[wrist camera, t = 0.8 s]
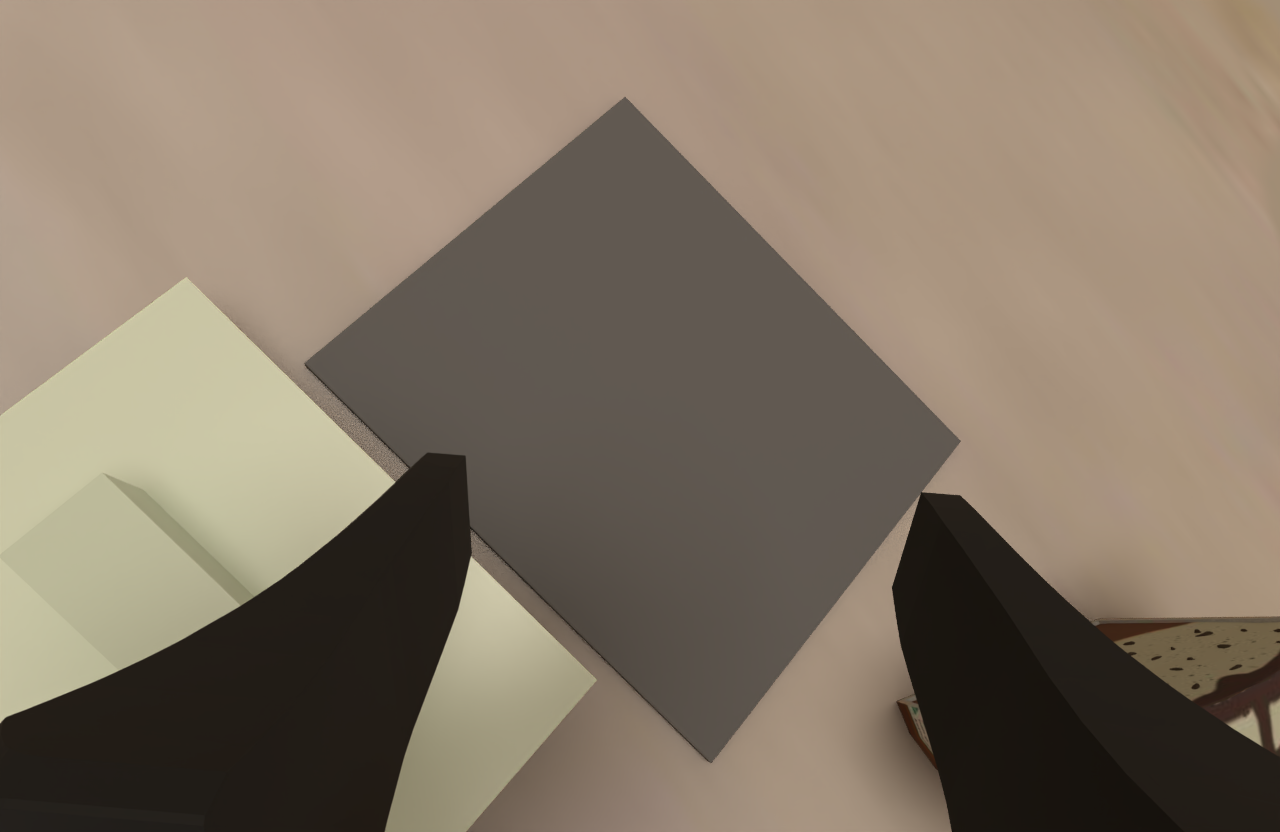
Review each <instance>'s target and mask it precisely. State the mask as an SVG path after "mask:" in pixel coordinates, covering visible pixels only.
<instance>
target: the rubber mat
mask: <svg viewBox="0 0 1280 832" xmlns="http://www.w3.org/2000/svg"><path fill="white" fill-rule="evenodd" d="M305 366H306V367H307V368H308V369H309V370H310V371H311V372H312V373H313V374H314V375H315V376H316V377H317V378H318V379H319V380H320V381H322V382H323V383H324V384H325V385H326V386H327V387H328V388H329V389H330V390H331V391H332V392H333V393H334V394H335V395H336V396H337V397H338V398H339V399H340V400H341V401H342V402H343V403H344V404H345V405H346V406H347V407H348V408H349V409H350V410H351V411H352V412H353V413H354V414H355V415H356V416H357V417H358V418H359V419H360V420H361V421H362V422H363V423H364V424H365V425H366V426H367V427H368V428H369V429H370V430H371V431H372V432H373V433H374V434H375V435H376V436H377V437H379V438H380V439H381V440H382V441H383V442H384V443H385V444H386V445H387V446H388V447H389V448H390V449H391V450H392V451H393V452H394V453H395V454H396V455H397V456H398V457H399V458H400V459H401V460H402V461H403V462H404V463H405V464H406V465H407V466H408V467H409V468H411V467H412V466H413V465H414V464H415V463H416V462H417V461H418V460H419V459H420V458H421V457H423V456H424V455H425V454H426V453H428V452H429V453H441V454H453V455H466V469H467V485H468V502H469V518H470V528H471V529H472V530H473V531H474V532H475V533H476V534H477V535H478V536H479V537H480V538H481V539H482V540H483V541H484V542H485V543H486V544H487V545H488V546H489V547H490V548H492V549H493V550H494V551H495V552H496V553H497V554H498V555H499V556H500V557H501V558H502V559H503V560H504V561H505V562H506V563H507V564H508V565H509V566H510V567H511V568H512V569H513V570H514V571H515V572H516V573H517V574H518V575H519V576H520V577H521V578H522V579H523V580H524V581H525V582H526V583H527V584H528V585H529V586H530V587H531V588H532V589H533V590H534V591H535V592H536V593H537V594H538V595H539V596H540V597H541V598H542V599H543V600H544V601H545V602H546V603H548V604H549V605H550V606H551V607H552V608H553V609H554V610H555V611H556V612H557V613H558V614H559V615H560V616H561V617H562V618H563V619H564V620H565V621H566V622H567V623H568V624H569V625H570V626H571V627H572V628H573V629H574V630H575V631H576V632H577V633H578V634H579V635H580V636H581V637H582V638H583V639H584V640H585V641H586V642H587V643H588V644H589V645H590V646H591V647H592V648H593V649H594V650H595V651H596V652H597V653H598V654H599V655H600V656H601V657H602V658H604V659H605V660H606V661H607V662H608V663H609V664H610V665H611V666H612V667H613V668H614V669H615V670H616V671H617V672H618V673H619V674H620V675H621V676H622V677H623V678H624V679H625V680H626V681H627V682H628V683H629V684H630V685H631V686H632V687H633V688H634V689H635V690H636V691H637V692H638V693H639V694H640V695H641V696H642V697H643V698H644V699H645V700H646V701H647V702H648V703H649V704H650V705H651V706H652V707H653V708H654V709H655V710H656V711H657V712H658V713H659V714H661V715H662V716H663V717H664V718H665V719H666V720H667V721H668V722H669V723H670V724H671V725H672V726H673V727H674V728H675V729H676V730H677V731H678V732H679V733H680V734H681V735H682V736H683V737H684V738H685V739H686V740H687V741H688V742H689V743H690V744H691V745H692V746H693V747H694V748H695V749H696V750H697V751H698V752H699V753H700V754H701V755H702V756H703V757H704V758H705V759H706V760H707V761H708V762H710V763H712V762H713V760H714V759H715V758H716V757H717V755H718V754H719V753H720V751H721V750H722V749H723V748H724V746H725V745H726V744H727V742H728V741H729V740H730V739H731V737H732V736H733V735H734V733H735V732H736V731H737V729H738V728H739V727H740V726H741V724H742V723H743V722H744V720H745V719H746V718H747V717H748V715H749V714H750V713H751V711H752V710H753V709H754V708H755V706H756V705H757V704H758V702H759V701H760V700H761V698H762V697H763V696H764V695H765V693H766V692H767V691H768V689H769V688H770V687H771V686H772V684H773V683H774V682H775V680H776V679H777V678H778V677H779V675H780V674H781V673H782V671H783V670H784V669H785V668H786V666H787V665H788V664H789V662H790V661H791V660H792V658H793V657H794V656H795V655H796V653H797V652H798V651H799V649H800V648H801V647H802V646H803V644H804V643H805V642H806V640H807V639H808V638H809V637H810V635H811V634H812V633H813V631H814V630H815V629H816V627H817V626H818V625H819V624H820V622H821V621H822V620H823V618H824V617H825V616H826V615H827V613H828V612H829V611H830V609H831V608H832V607H833V606H834V604H835V603H836V602H837V600H838V599H839V598H840V597H841V595H842V594H843V593H844V591H845V590H846V589H847V587H848V586H849V585H850V584H851V582H852V581H853V580H854V578H855V577H856V576H857V575H858V573H859V572H860V571H861V569H862V568H863V567H864V566H865V564H866V563H867V562H868V560H869V559H870V558H871V556H872V555H873V554H874V553H875V551H876V550H877V549H878V547H879V546H880V545H881V544H882V542H883V541H884V540H885V538H886V537H887V536H888V535H889V533H890V532H891V531H892V529H893V528H894V527H895V526H896V524H897V523H898V522H899V520H900V519H901V518H902V516H903V515H904V514H905V513H906V511H907V510H908V509H909V507H910V506H911V505H912V504H913V502H914V501H915V500H916V498H917V497H918V496H919V495H920V493H921V492H922V491H923V489H924V488H925V487H926V485H927V484H928V483H929V482H930V480H931V479H932V478H933V476H934V475H935V474H936V473H937V471H938V470H939V469H940V467H941V466H942V465H943V464H944V462H945V461H946V460H947V458H948V457H949V456H950V454H951V453H952V452H953V451H954V449H955V448H956V447H957V445H958V444H959V443H960V442H961V441H960V440H959V439H958V438H957V437H956V436H955V435H954V434H953V433H952V432H951V431H950V430H949V429H948V428H947V427H946V425H945V424H944V423H943V422H942V421H941V420H940V419H939V418H938V417H937V416H936V415H935V414H934V413H933V412H932V411H931V410H930V409H929V408H928V407H927V406H926V405H925V404H924V403H923V402H922V401H921V400H920V399H919V398H918V397H917V396H916V395H915V394H914V393H913V392H912V391H911V390H910V389H909V388H908V386H907V385H906V384H905V383H904V382H903V381H902V380H901V379H900V378H899V377H898V376H897V375H896V374H895V373H894V372H893V371H892V370H891V369H890V368H889V367H888V366H887V365H886V364H885V363H884V362H883V361H882V360H881V359H880V358H879V357H878V356H877V355H876V354H875V353H874V352H873V351H872V350H871V349H870V348H869V346H868V345H867V344H866V343H865V342H864V341H863V340H862V339H861V338H860V337H859V336H858V335H857V334H856V333H855V332H854V331H853V330H852V329H851V328H850V327H849V326H848V325H847V324H846V323H845V322H844V321H843V320H842V319H841V318H840V317H839V316H838V315H837V314H836V313H835V312H834V311H833V310H832V309H831V308H830V306H829V305H828V304H827V303H826V302H825V301H824V300H823V299H822V298H821V297H820V296H819V295H818V294H817V293H816V292H815V291H814V290H813V289H812V288H811V287H810V286H809V285H808V284H807V283H806V282H805V281H804V280H803V279H802V278H801V277H800V276H799V275H798V274H797V273H796V272H795V271H794V270H793V269H792V268H791V266H790V265H789V264H788V263H787V262H786V261H785V260H784V259H783V258H782V257H781V256H780V255H779V254H778V253H777V252H776V251H775V250H774V249H773V248H772V247H771V246H770V245H769V244H768V243H767V242H766V241H765V240H764V239H763V238H762V237H761V236H760V235H759V234H758V233H757V232H756V231H755V230H754V229H753V228H752V226H751V225H750V224H749V223H748V222H747V221H746V220H745V219H744V218H743V217H742V216H741V215H740V214H739V213H738V212H737V211H736V210H735V209H734V208H733V207H732V206H731V205H730V204H729V203H728V202H727V201H726V200H725V199H724V198H723V197H722V196H721V195H720V194H719V193H718V192H717V191H716V190H715V189H714V188H713V186H712V185H711V184H710V183H709V182H708V181H707V180H706V179H705V178H704V177H703V176H702V175H701V174H700V173H699V172H698V171H697V170H696V169H695V168H694V167H693V166H692V165H691V164H690V163H689V162H688V161H687V160H686V159H685V158H684V157H683V156H682V155H681V154H680V153H679V152H678V151H677V150H676V149H675V148H674V146H673V145H672V144H671V143H670V142H669V141H668V140H667V139H666V138H665V137H664V136H663V135H662V134H661V133H660V132H659V131H658V130H657V129H656V128H655V127H654V126H653V125H652V124H651V123H650V122H649V121H648V120H647V119H646V118H645V117H644V116H643V115H642V114H641V113H640V112H639V111H638V110H637V109H636V107H635V106H634V105H633V104H632V103H631V102H630V101H629V100H628V99H627V98H626V97H624V98H623V99H622V100H621V101H620V102H618V103H617V104H616V105H615V106H614V107H612V108H611V109H610V110H609V111H608V112H606V113H605V114H604V115H603V116H602V117H600V118H599V119H598V120H597V121H596V122H594V123H593V124H592V125H591V126H590V127H588V128H587V129H586V130H585V131H584V132H582V133H581V134H580V135H579V136H578V137H576V138H575V139H574V140H573V141H571V142H570V143H569V144H568V145H567V146H565V147H564V148H563V149H562V150H561V151H559V152H558V153H557V154H556V155H555V156H553V157H552V158H551V159H550V160H549V161H547V162H546V163H545V164H544V165H543V166H541V167H540V168H539V169H538V170H537V171H535V172H534V173H533V174H532V175H531V176H529V177H528V178H527V179H526V180H525V181H523V182H522V183H521V184H520V185H519V186H517V187H516V188H515V189H514V190H513V191H511V192H510V193H509V194H508V195H507V196H505V197H504V198H503V199H502V200H500V201H499V202H498V203H497V204H496V205H494V206H493V207H492V208H491V209H490V210H488V211H487V212H486V213H485V214H484V215H482V216H481V217H480V218H479V219H478V220H476V221H475V222H474V223H473V224H472V225H470V226H469V227H468V228H467V229H466V230H464V231H463V232H462V233H461V234H460V235H458V236H457V237H456V238H455V239H454V240H452V241H451V242H450V243H449V244H448V245H446V246H445V247H444V248H443V249H442V250H440V251H439V252H438V253H437V254H435V255H434V256H433V257H432V258H431V259H429V260H428V261H427V262H426V263H425V264H423V265H422V266H421V267H420V268H419V269H417V270H416V271H415V272H414V273H413V274H411V275H410V276H409V277H408V278H407V279H405V280H404V281H403V282H402V283H401V284H399V285H398V286H397V287H396V288H395V289H393V290H392V291H391V292H390V293H389V294H387V295H386V296H385V297H384V298H383V299H381V300H380V301H379V302H378V303H377V304H375V305H374V306H373V307H372V308H370V309H369V310H368V311H367V312H366V313H364V314H363V315H362V316H361V317H360V318H358V319H357V320H356V321H355V322H354V323H352V324H351V325H350V326H349V327H348V328H346V329H345V330H344V331H343V332H342V333H340V334H339V335H338V336H337V337H336V338H334V339H333V340H332V341H331V342H330V343H328V344H327V345H326V346H325V347H324V348H322V349H321V350H320V351H319V352H318V353H316V354H315V355H314V356H313V357H312V358H310V359H309V360H308V361H307V362H305Z"/></svg>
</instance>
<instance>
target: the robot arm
mask: <svg viewBox="0 0 1280 832" xmlns="http://www.w3.org/2000/svg"><path fill="white" fill-rule="evenodd" d="M471 554H472V551H471V535H470V518H469V502H468V485H467V469H466V455H453V454H441V453H429V452H428V453H426V454H425V455H424V456H423V457H421V458H420V459H419V460H418V461H417V462H416V463H415V464H414V465H413V466H412V467H411V468H410V469H409V470H408V471H407V472H405V473H404V474H403V475H402V476H401V477H400V478H399V479H398V480H397V481H396V482H395V483H394V484H393V485H392V486H391V487H390V488H389V489H388V490H387V491H386V492H385V493H383V494H382V495H381V496H380V497H379V498H378V499H377V500H376V501H375V502H374V503H373V504H372V505H371V506H369V507H368V508H367V509H366V510H365V511H364V512H363V513H362V514H360V515H359V516H358V517H357V518H356V519H355V520H354V521H353V522H351V523H350V524H349V525H348V526H347V527H346V528H345V529H344V530H342V531H341V532H340V533H339V534H338V535H337V536H335V537H334V538H333V539H332V540H330V541H329V542H328V543H327V544H325V545H324V546H323V547H322V548H320V549H319V550H318V551H317V552H315V553H314V554H313V555H312V556H310V557H309V558H308V559H307V560H305V561H304V562H303V563H302V564H300V565H299V566H298V567H297V568H295V569H294V570H292V571H291V572H290V573H288V574H287V575H286V576H284V577H283V578H282V579H280V580H279V581H277V582H276V583H274V584H273V585H271V586H270V587H268V588H267V589H265V590H264V591H262V592H261V593H259V594H258V595H256V596H255V597H253V598H252V599H250V600H249V601H247V602H246V603H244V604H242V605H241V606H239V607H238V608H236V609H234V610H233V611H231V612H229V613H227V614H226V615H224V616H222V617H220V618H219V619H217V620H215V621H213V622H212V623H210V624H208V625H206V626H205V627H203V628H201V629H199V630H198V631H196V632H194V633H192V634H191V635H189V636H187V637H185V638H184V639H182V640H180V641H178V642H176V643H174V644H172V645H170V646H169V647H167V648H165V649H163V650H161V651H159V652H157V653H155V654H153V655H151V656H149V657H147V658H145V659H143V660H140V661H138V662H136V663H134V664H132V665H130V666H128V667H126V668H123V669H121V670H119V671H117V672H115V673H113V674H111V675H108V676H106V677H104V678H102V679H99V680H97V681H95V682H93V683H90V684H88V685H85V686H83V687H80V688H78V689H75V690H73V691H71V692H68V693H66V694H63V695H61V696H58V697H56V698H53V699H51V700H48V701H46V702H43V703H41V704H38V705H36V706H33V707H31V708H28V709H26V710H23V711H21V712H18V713H15V714H13V715H10V716H7V717H5V718H4V720H3V721H2V722H1V723H0V832H385V828H386V824H387V820H388V816H389V813H390V809H391V805H392V801H393V798H394V794H395V790H396V786H397V782H398V779H399V775H400V771H401V767H402V764H403V760H404V756H405V753H406V750H407V747H408V744H409V741H410V738H411V735H412V732H413V729H414V726H415V724H416V721H417V718H418V716H419V713H420V711H421V708H422V705H423V703H424V700H425V697H426V695H427V692H428V689H429V687H430V684H431V681H432V679H433V676H434V674H435V671H436V668H437V666H438V663H439V660H440V658H441V655H442V652H443V650H444V647H445V644H446V642H447V639H448V636H449V634H450V631H451V628H452V626H453V623H454V620H455V617H456V615H457V612H458V609H459V605H460V601H461V597H462V593H463V589H464V585H465V580H466V576H467V571H468V567H469V563H470V558H471ZM892 591H893V598H894V605H895V612H896V619H897V625H898V631H899V637H900V643H901V648H902V651H903V655H904V658H905V662H906V665H907V669H908V672H909V675H910V679H911V682H912V686H913V689H914V693H915V696H916V699H917V702H918V706H919V709H920V712H921V716H922V719H923V722H924V726H925V729H926V732H927V735H928V739H929V742H930V745H931V749H932V752H933V755H934V759H935V762H936V765H937V769H938V772H939V775H940V779H941V783H942V787H943V791H944V795H945V799H946V803H947V808H948V813H949V819H950V824H951V829H952V832H1280V757H1279V756H1277V755H1275V754H1274V753H1272V752H1270V751H1269V750H1267V749H1265V748H1264V747H1262V746H1261V745H1259V744H1257V743H1256V742H1254V741H1252V740H1251V739H1249V738H1248V737H1246V736H1244V735H1243V734H1241V733H1239V732H1238V731H1236V730H1235V729H1233V728H1232V727H1230V726H1229V725H1227V724H1226V723H1224V722H1223V721H1221V720H1220V719H1218V718H1217V717H1215V716H1214V715H1212V714H1211V713H1209V712H1208V711H1206V710H1205V709H1203V708H1202V707H1200V706H1199V705H1197V704H1196V703H1194V702H1193V701H1191V700H1190V699H1188V698H1187V697H1185V696H1184V695H1183V694H1181V693H1180V692H1178V691H1177V690H1176V689H1174V688H1173V687H1171V686H1170V685H1169V684H1167V683H1166V682H1164V681H1163V680H1162V679H1161V678H1159V677H1158V676H1157V675H1155V674H1154V673H1153V672H1151V671H1150V670H1149V669H1148V668H1146V667H1145V666H1144V665H1142V664H1141V663H1140V662H1138V661H1137V660H1136V659H1134V658H1133V657H1132V656H1131V655H1129V654H1128V653H1127V652H1125V651H1124V650H1123V649H1122V648H1120V647H1119V646H1118V645H1117V644H1116V643H1114V642H1113V641H1112V640H1111V639H1109V638H1108V637H1107V636H1106V635H1105V634H1104V633H1102V632H1101V631H1100V630H1099V629H1098V628H1097V627H1096V626H1094V625H1093V624H1092V623H1091V622H1090V621H1089V620H1088V619H1086V618H1085V617H1084V616H1083V615H1082V614H1081V613H1080V612H1078V611H1077V610H1076V609H1075V608H1074V607H1073V606H1072V605H1071V604H1070V603H1068V602H1067V601H1066V600H1065V599H1064V598H1063V597H1062V596H1061V595H1060V594H1059V593H1058V592H1057V591H1056V590H1055V589H1053V588H1052V587H1051V586H1050V585H1049V584H1048V583H1047V582H1046V581H1045V580H1044V579H1043V578H1042V577H1041V576H1040V575H1039V574H1038V573H1037V572H1036V571H1035V570H1034V569H1033V568H1032V567H1031V566H1030V565H1029V564H1028V563H1027V562H1026V561H1025V560H1024V559H1023V558H1022V557H1021V556H1020V555H1019V554H1018V553H1017V552H1016V551H1015V550H1014V549H1013V548H1012V547H1011V546H1010V545H1009V544H1008V543H1007V542H1006V541H1005V540H1004V539H1003V538H1002V537H1001V536H1000V535H999V534H998V533H997V532H996V531H995V530H994V529H993V528H992V527H991V526H990V525H989V523H988V522H987V521H986V520H985V519H984V518H983V517H982V516H981V515H980V514H979V513H978V512H977V511H976V510H975V509H974V508H973V507H972V506H971V505H970V504H969V503H968V502H967V501H966V500H964V499H963V498H962V497H961V496H960V495H948V494H936V493H923V492H921V495H920V498H919V501H918V505H917V508H916V511H915V514H914V518H913V521H912V524H911V527H910V531H909V534H908V537H907V540H906V544H905V547H904V550H903V554H902V557H901V560H900V563H899V567H898V570H897V573H896V576H895V580H894V583H893V586H892Z"/></svg>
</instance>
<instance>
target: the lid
mask: <svg viewBox="0 0 1280 832" xmlns="http://www.w3.org/2000/svg"><path fill="white" fill-rule="evenodd" d="M394 483H395V481H394V480H393V479H392V478H391V477H390V476H389V475H388V474H387V473H386V472H385V471H384V470H382V469H381V468H380V467H379V466H378V465H377V464H376V463H375V462H374V461H373V460H372V459H371V458H370V457H369V456H368V455H367V454H366V453H365V452H364V451H363V450H362V449H361V448H360V447H359V446H358V445H357V444H356V443H355V442H354V441H353V440H352V439H351V438H350V437H349V436H348V435H347V434H346V433H345V432H344V431H343V430H342V429H341V428H340V427H339V426H338V425H337V424H336V423H335V422H334V421H332V420H331V419H330V418H329V417H328V416H327V415H326V414H325V413H324V412H323V411H322V410H321V409H320V408H319V407H318V406H317V405H316V404H315V403H314V402H313V401H312V400H311V399H310V398H309V397H308V396H307V395H306V394H305V393H304V392H303V391H302V390H301V389H300V388H299V387H298V386H297V385H296V384H295V383H294V382H293V381H292V380H291V379H290V378H289V377H288V376H287V375H286V374H285V373H284V372H283V371H281V370H280V369H279V368H278V367H277V366H276V365H275V364H274V363H273V362H272V361H271V360H270V359H269V358H268V357H267V356H266V355H265V354H264V353H263V352H262V351H261V350H260V349H259V348H258V347H257V346H256V345H255V344H254V343H253V342H252V341H251V340H250V339H249V338H248V337H247V336H246V335H245V334H244V333H243V332H242V331H241V330H240V329H239V328H238V327H237V326H236V325H235V324H234V323H233V322H231V321H230V320H229V319H228V318H227V317H226V316H225V315H224V314H223V313H222V312H221V311H220V310H219V309H218V308H217V307H216V306H215V305H214V304H213V303H212V302H211V301H210V300H209V299H208V298H207V297H206V296H205V295H204V294H203V293H202V292H201V291H200V290H199V289H198V288H197V287H196V286H195V285H194V284H193V283H192V282H191V281H190V280H189V279H188V278H187V277H186V278H184V279H183V280H182V281H180V282H179V283H178V284H176V285H175V286H174V287H172V288H171V289H170V290H168V291H167V292H165V293H164V294H163V295H161V296H160V297H159V298H157V299H156V300H155V301H153V302H152V303H151V304H149V305H148V306H147V307H145V308H144V309H143V310H141V311H140V312H139V313H137V314H136V315H135V316H133V317H132V318H131V319H129V320H128V321H127V322H125V323H124V324H122V325H121V326H120V327H118V328H117V329H116V330H114V331H113V332H112V333H110V334H109V335H108V336H106V337H105V338H104V339H102V340H101V341H100V342H98V343H97V344H96V345H94V346H93V347H92V348H90V349H89V350H88V351H86V352H85V353H84V354H82V355H81V356H79V357H78V358H77V359H75V360H74V361H73V362H71V363H70V364H69V365H67V366H66V367H65V368H63V369H62V370H61V371H59V372H58V373H57V374H55V375H54V376H53V377H51V378H50V379H49V380H47V381H46V382H45V383H43V384H42V385H41V386H39V387H38V388H36V389H35V390H34V391H32V392H31V393H30V394H28V395H27V396H26V397H24V398H23V399H22V400H20V401H19V402H18V403H16V404H15V405H14V406H12V407H11V408H10V409H8V410H7V411H6V412H4V413H3V414H2V415H0V723H1V722H2V721H3V720H4V718H5V717H7V716H10V715H13V714H15V713H18V712H21V711H23V710H26V709H28V708H31V707H33V706H36V705H38V704H41V703H43V702H46V701H48V700H51V699H53V698H56V697H58V696H61V695H63V694H66V693H68V692H71V691H73V690H75V689H78V688H80V687H83V686H85V685H88V684H90V683H93V682H95V681H97V680H99V679H102V678H104V677H106V676H108V675H111V674H113V673H115V672H117V671H119V670H121V669H123V668H126V667H128V666H130V665H132V664H134V663H136V662H138V661H140V660H143V659H145V658H147V657H149V656H151V655H153V654H155V653H157V652H159V651H161V650H163V649H165V648H167V647H169V646H170V645H172V644H174V643H176V642H178V641H180V640H182V639H184V638H185V637H187V636H189V635H191V634H192V633H194V632H196V631H198V630H199V629H201V628H203V627H205V626H206V625H208V624H210V623H212V622H213V621H215V620H217V619H219V618H220V617H222V616H224V615H226V614H227V613H229V612H231V611H233V610H234V609H236V608H238V607H239V606H241V605H242V604H244V603H246V602H247V601H249V600H250V599H252V598H253V597H255V596H256V595H258V594H259V593H261V592H262V591H264V590H265V589H267V588H268V587H270V586H271V585H273V584H274V583H276V582H277V581H279V580H280V579H282V578H283V577H284V576H286V575H287V574H288V573H290V572H291V571H292V570H294V569H295V568H297V567H298V566H299V565H300V564H302V563H303V562H304V561H305V560H307V559H308V558H309V557H310V556H312V555H313V554H314V553H315V552H317V551H318V550H319V549H320V548H322V547H323V546H324V545H325V544H327V543H328V542H329V541H330V540H332V539H333V538H334V537H335V536H337V535H338V534H339V533H340V532H341V531H342V530H344V529H345V528H346V527H347V526H348V525H349V524H350V523H351V522H353V521H354V520H355V519H356V518H357V517H358V516H359V515H360V514H362V513H363V512H364V511H365V510H366V509H367V508H368V507H369V506H371V505H372V504H373V503H374V502H375V501H376V500H377V499H378V498H379V497H380V496H381V495H382V494H383V493H385V492H386V491H387V490H388V489H389V488H390V487H391V486H392V485H393V484H394ZM596 681H597V679H596V678H595V677H594V676H593V675H592V674H591V673H590V672H589V671H588V670H587V669H585V668H584V667H583V666H582V665H581V664H580V663H579V662H578V661H577V660H576V659H575V658H574V657H573V656H572V655H571V654H570V653H569V652H568V651H567V650H566V649H565V648H564V647H563V646H562V645H561V644H560V643H559V642H558V641H557V640H556V639H555V638H554V637H553V636H552V635H551V634H550V633H549V632H548V631H547V630H546V629H545V628H544V627H543V626H542V625H541V624H540V623H539V622H538V621H537V620H536V619H534V618H533V617H532V616H531V615H530V614H529V613H528V612H527V611H526V610H525V609H524V608H523V607H522V606H521V605H520V604H519V603H518V602H517V601H516V600H515V599H514V598H513V597H512V596H511V595H510V594H509V593H508V592H507V591H506V590H505V589H504V588H503V587H502V586H501V585H500V584H499V583H498V582H497V581H496V580H495V579H494V578H493V577H492V576H491V575H490V574H489V573H488V572H487V571H486V570H485V569H483V568H482V567H481V566H480V565H479V564H478V563H477V562H476V561H475V560H474V559H473V558H472V557H471V558H470V563H469V567H468V571H467V576H466V580H465V585H464V589H463V593H462V597H461V601H460V605H459V609H458V612H457V615H456V617H455V620H454V623H453V626H452V628H451V631H450V634H449V636H448V639H447V642H446V644H445V647H444V650H443V652H442V655H441V658H440V660H439V663H438V666H437V668H436V671H435V674H434V676H433V679H432V681H431V684H430V687H429V689H428V692H427V695H426V697H425V700H424V703H423V705H422V708H421V711H420V713H419V716H418V718H417V721H416V724H415V726H414V729H413V732H412V735H411V738H410V741H409V744H408V747H407V750H406V753H405V756H404V760H403V764H402V767H401V771H400V775H399V779H398V782H397V786H396V790H395V794H394V798H393V801H392V805H391V809H390V813H389V816H388V820H387V824H386V828H385V832H466V831H467V830H468V829H469V828H470V827H471V825H472V824H473V823H474V822H475V821H476V820H477V818H478V817H479V816H480V815H481V814H482V813H483V811H484V810H485V809H486V808H487V807H488V806H489V805H490V803H491V802H492V801H493V800H494V799H495V798H496V796H497V795H498V794H499V793H500V792H501V791H502V789H503V788H504V787H505V786H506V785H507V784H508V783H509V781H510V780H511V779H512V778H513V777H514V776H515V774H516V773H517V772H518V771H519V770H520V769H521V768H522V766H523V765H524V764H525V763H526V762H527V761H528V759H529V758H530V757H531V756H532V755H533V754H534V752H535V751H536V750H537V749H538V748H539V747H540V746H541V744H542V743H543V742H544V741H545V740H546V739H547V737H548V736H549V735H550V734H551V733H552V732H553V731H554V729H555V728H556V727H557V726H558V725H559V724H560V722H561V721H562V720H563V719H564V718H565V717H566V715H567V714H568V713H569V712H570V711H571V710H572V709H573V707H574V706H575V705H576V704H577V703H578V702H579V700H580V699H581V698H582V697H583V696H584V695H585V693H586V692H587V691H588V690H589V689H590V688H591V687H592V685H593V684H594V683H595V682H596Z"/></svg>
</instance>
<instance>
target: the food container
mask: <svg viewBox="0 0 1280 832" xmlns="http://www.w3.org/2000/svg"><path fill="white" fill-rule="evenodd" d="M1091 623H1092V624H1093V625H1094V626H1096V627H1097V628H1098V629H1099V630H1100V631H1101V632H1102V633H1104V634H1105V635H1106V636H1107V637H1108V638H1109V639H1111V640H1112V641H1113V642H1114V643H1116V644H1117V645H1118V646H1119V647H1120V648H1122V649H1123V650H1124V651H1125V652H1127V653H1128V654H1129V655H1131V656H1132V657H1133V658H1134V659H1136V660H1137V661H1138V662H1140V663H1141V664H1142V665H1144V666H1145V667H1146V668H1148V669H1149V670H1150V671H1151V672H1153V673H1154V674H1155V675H1157V676H1158V677H1159V678H1161V679H1162V680H1163V681H1164V682H1166V683H1167V684H1169V685H1170V686H1171V687H1173V688H1174V689H1176V690H1177V691H1178V692H1180V693H1181V694H1183V695H1184V696H1185V697H1187V698H1188V699H1190V700H1191V701H1193V702H1194V703H1196V704H1197V705H1199V706H1200V707H1202V708H1203V709H1205V710H1206V711H1208V712H1209V713H1211V714H1212V715H1214V716H1215V717H1217V718H1218V719H1220V720H1221V721H1223V722H1224V723H1226V724H1227V725H1229V726H1230V727H1232V728H1233V729H1235V730H1236V731H1238V732H1239V733H1241V734H1243V735H1244V736H1246V737H1248V738H1249V739H1251V740H1252V741H1254V742H1256V743H1257V744H1259V745H1261V746H1262V747H1264V748H1265V749H1267V750H1269V751H1270V752H1272V753H1274V754H1275V755H1277V756H1279V757H1280V617H1202V618H1119V619H1096V620H1094V621H1091ZM897 704H898V706H899V709H900V711H901V713H902V716H903V718H904V721H905V723H906V726H907V728H908V730H909V733H910V734H911V736H912V737H913V738H914V740H915V741H916V743H917V744H918V745H919V747H920V748H921V749H922V751H923V752H924V753H925V755H926V756H927V757H928V759H929V760H930V761H931V763H932V764H933V766H934V767H935V768H936V769H937V765H936V762H935V759H934V755H933V752H932V749H931V745H930V742H929V739H928V735H927V732H926V729H925V726H924V722H923V719H922V716H921V712H920V709H919V706H918V702H917V699H916V696H915V694H913V695H911V696H908V697H906V698H903V699H901V700H899V701H897ZM937 770H938V769H937Z"/></svg>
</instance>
